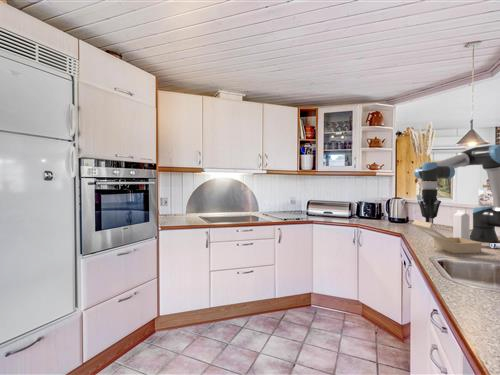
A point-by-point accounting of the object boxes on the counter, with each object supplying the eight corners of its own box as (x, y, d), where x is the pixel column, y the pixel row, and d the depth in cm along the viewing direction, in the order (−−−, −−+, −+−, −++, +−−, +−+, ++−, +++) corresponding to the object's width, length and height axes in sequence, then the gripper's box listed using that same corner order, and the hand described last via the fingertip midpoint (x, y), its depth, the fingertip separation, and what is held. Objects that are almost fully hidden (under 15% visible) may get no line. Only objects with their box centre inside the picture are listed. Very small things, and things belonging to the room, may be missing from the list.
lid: (413, 219, 175) (411, 223, 174) (433, 223, 158) (430, 228, 158) (436, 233, 176) (433, 237, 176) (457, 238, 159) (454, 243, 159)
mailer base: (458, 246, 177) (458, 237, 177) (481, 253, 161) (481, 242, 161) (433, 247, 176) (433, 237, 175) (454, 253, 160) (454, 243, 159)
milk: (460, 243, 187) (461, 209, 186) (469, 245, 181) (469, 210, 180) (452, 243, 186) (453, 209, 185) (461, 245, 180) (461, 210, 179)
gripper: (435, 188, 170) (435, 228, 171) (414, 188, 169) (414, 228, 170) (444, 188, 163) (444, 230, 163) (423, 189, 162) (423, 230, 162)
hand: (429, 229), depth 167 cm, fingers closed
